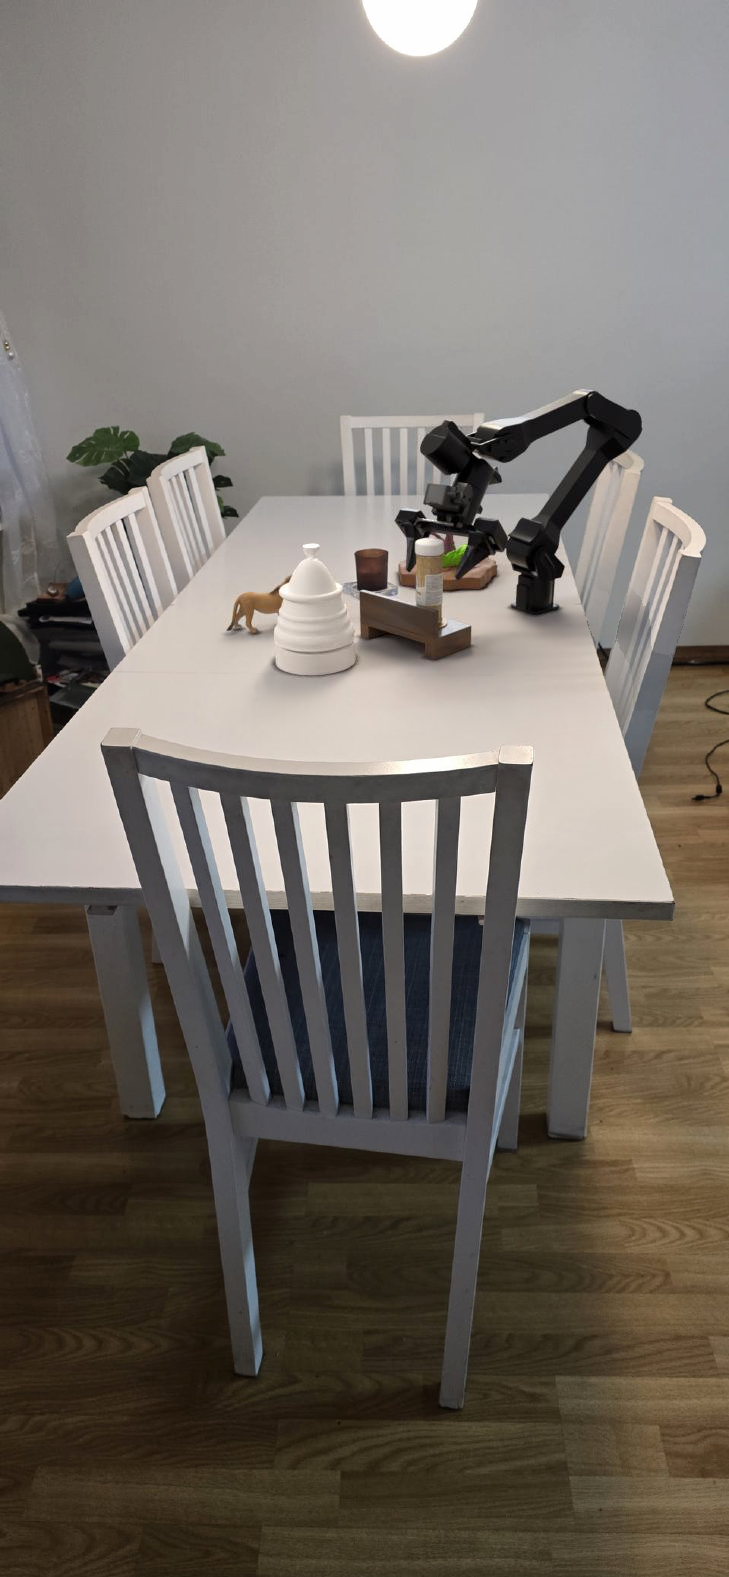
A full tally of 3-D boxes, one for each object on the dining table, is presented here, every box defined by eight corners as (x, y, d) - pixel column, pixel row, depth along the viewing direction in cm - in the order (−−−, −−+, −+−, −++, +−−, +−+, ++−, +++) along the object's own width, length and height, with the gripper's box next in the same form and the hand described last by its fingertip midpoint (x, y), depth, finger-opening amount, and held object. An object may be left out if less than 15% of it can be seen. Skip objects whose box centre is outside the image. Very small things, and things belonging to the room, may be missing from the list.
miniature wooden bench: (397, 624, 174) (396, 579, 171) (471, 645, 163) (472, 598, 160) (360, 636, 169) (359, 590, 165) (434, 660, 158) (434, 611, 154)
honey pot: (280, 647, 165) (273, 539, 157) (357, 646, 165) (354, 538, 156) (271, 675, 154) (262, 560, 145) (353, 675, 153) (350, 559, 145)
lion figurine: (303, 618, 178) (300, 569, 174) (312, 627, 174) (309, 577, 170) (223, 629, 174) (218, 579, 170) (230, 638, 170) (225, 587, 165)
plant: (390, 589, 193) (389, 531, 188) (404, 562, 210) (403, 509, 205) (493, 592, 190) (496, 533, 184) (499, 564, 207) (501, 510, 201)
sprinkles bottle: (412, 619, 165) (412, 538, 159) (439, 616, 166) (440, 536, 159) (418, 627, 161) (418, 545, 155) (446, 625, 162) (447, 543, 155)
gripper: (399, 457, 161) (363, 540, 158) (502, 466, 151) (465, 555, 149) (425, 498, 170) (391, 577, 168) (523, 508, 161) (488, 592, 158)
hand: (431, 574), depth 160 cm, fingers open, 9 cm apart
